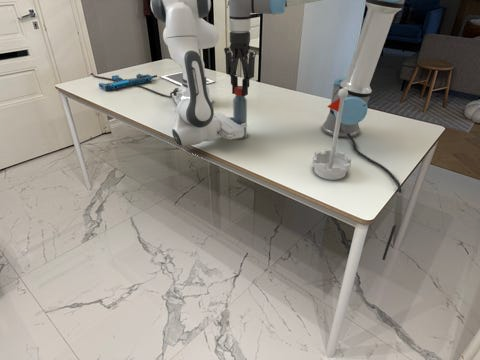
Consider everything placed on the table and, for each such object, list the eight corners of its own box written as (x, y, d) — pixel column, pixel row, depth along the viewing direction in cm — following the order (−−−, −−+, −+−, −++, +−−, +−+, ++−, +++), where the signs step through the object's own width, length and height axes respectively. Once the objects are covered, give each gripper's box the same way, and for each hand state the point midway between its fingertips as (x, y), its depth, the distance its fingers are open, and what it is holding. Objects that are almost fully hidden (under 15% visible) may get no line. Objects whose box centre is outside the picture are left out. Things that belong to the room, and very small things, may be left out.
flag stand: (334, 159, 128) (348, 80, 112) (356, 176, 118) (375, 92, 101) (304, 166, 124) (314, 84, 108) (324, 184, 114) (338, 97, 97)
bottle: (237, 140, 142) (237, 91, 131) (231, 135, 146) (230, 87, 135) (249, 137, 145) (249, 89, 133) (242, 132, 149) (242, 85, 137)
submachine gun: (143, 68, 224) (161, 74, 208) (144, 74, 226) (162, 80, 210) (91, 78, 206) (107, 86, 189) (92, 84, 208) (108, 92, 191)
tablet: (160, 77, 218) (160, 76, 218) (186, 71, 229) (186, 70, 229) (187, 89, 198) (187, 88, 198) (215, 82, 209) (215, 81, 209)
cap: (240, 96, 133) (240, 90, 131) (232, 94, 135) (232, 87, 134) (247, 93, 136) (247, 87, 134) (239, 91, 138) (239, 85, 137)
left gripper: (225, 130, 127) (255, 123, 133) (201, 113, 142) (229, 106, 148) (225, 145, 131) (255, 137, 137) (202, 127, 145) (229, 120, 151)
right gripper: (265, 32, 121) (263, 95, 134) (227, 27, 130) (228, 87, 142) (253, 35, 116) (252, 101, 129) (214, 30, 124) (217, 92, 137)
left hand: (241, 121), depth 142 cm, fingers closed on bottle, 5 cm apart
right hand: (240, 94), depth 135 cm, fingers closed on cap, 4 cm apart
